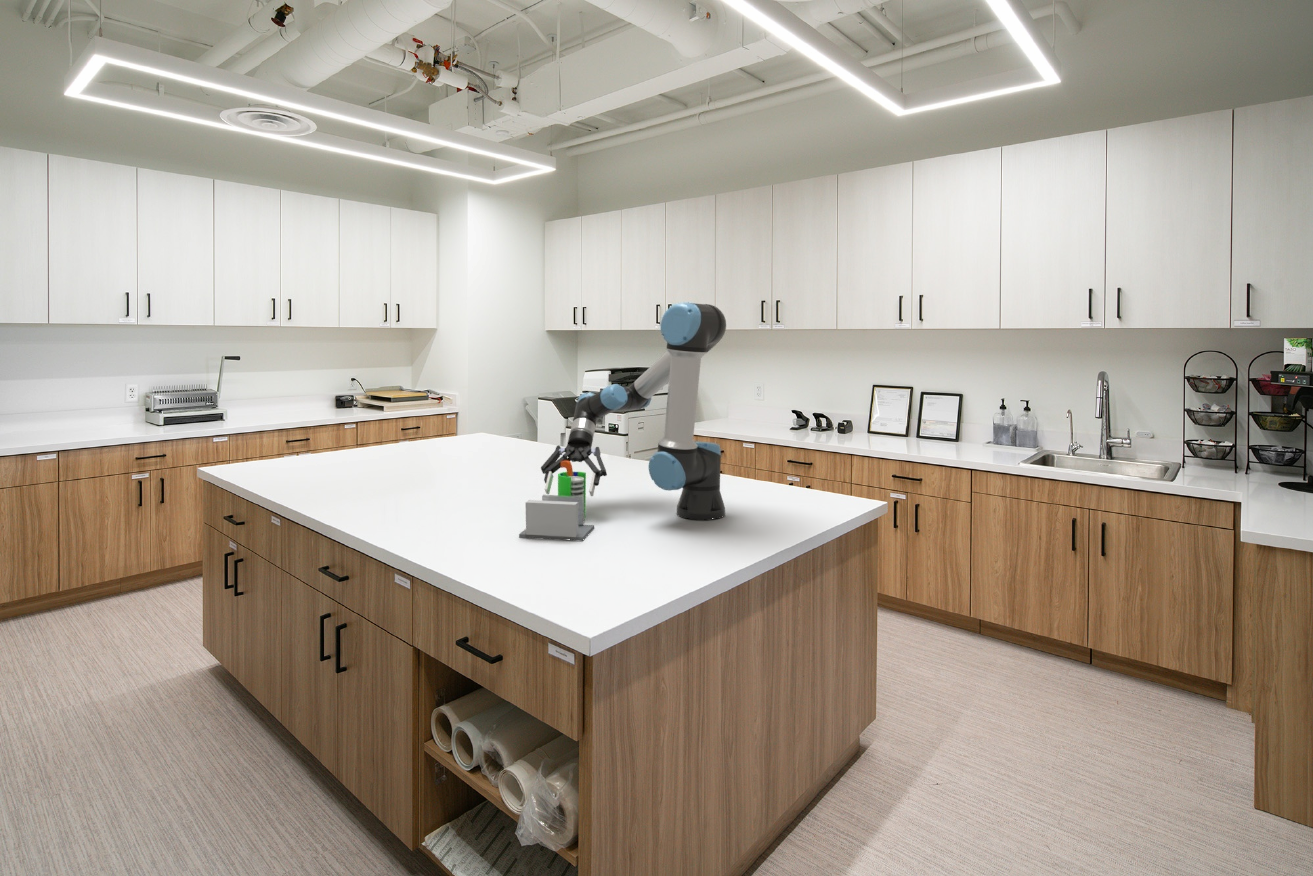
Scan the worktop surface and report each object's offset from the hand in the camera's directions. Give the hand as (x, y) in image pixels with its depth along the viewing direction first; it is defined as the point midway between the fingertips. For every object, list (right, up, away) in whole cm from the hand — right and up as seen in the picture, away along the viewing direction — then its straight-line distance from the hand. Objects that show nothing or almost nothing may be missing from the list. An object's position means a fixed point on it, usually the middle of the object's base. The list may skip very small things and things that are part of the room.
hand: (568, 492), depth 209 cm
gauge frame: (-2, -10, -10) cm, 15 cm away
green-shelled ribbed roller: (0, -9, +3) cm, 9 cm away
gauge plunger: (-3, -8, -6) cm, 11 cm away
